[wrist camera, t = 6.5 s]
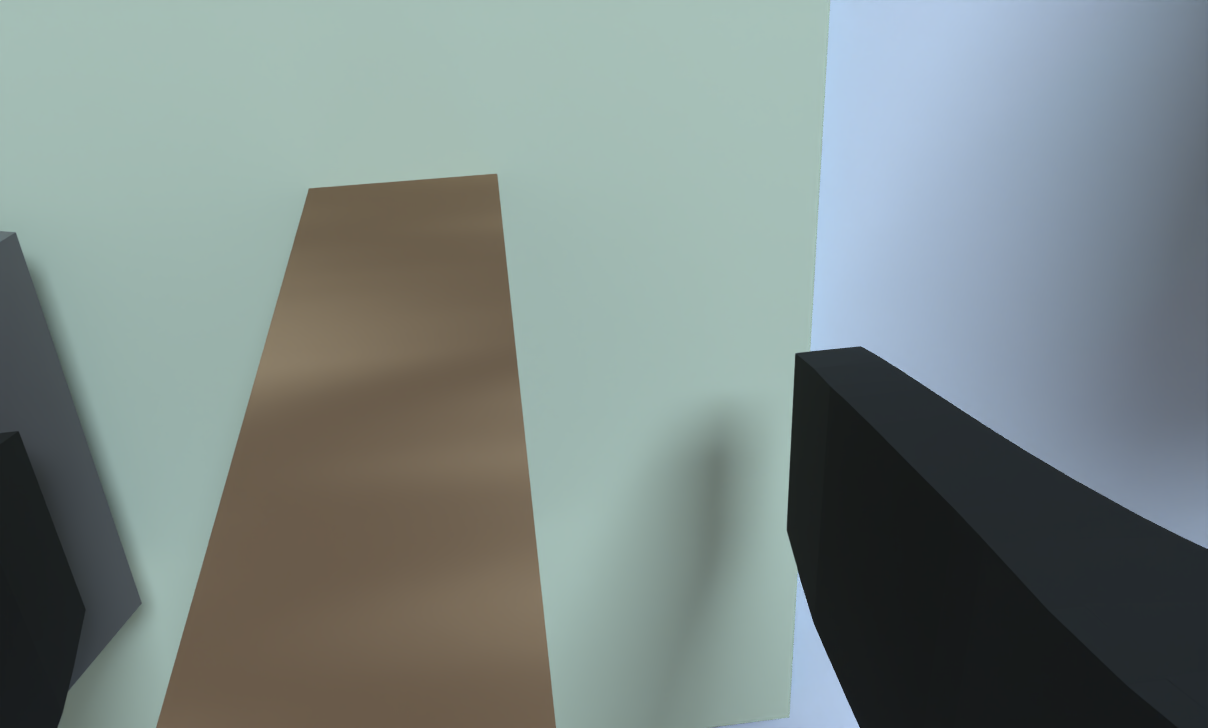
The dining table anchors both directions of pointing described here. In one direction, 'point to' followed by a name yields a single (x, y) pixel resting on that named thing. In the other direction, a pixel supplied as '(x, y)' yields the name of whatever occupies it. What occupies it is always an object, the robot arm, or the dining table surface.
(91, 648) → the domino
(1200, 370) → the dining table surface
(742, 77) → the mat
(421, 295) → the domino
